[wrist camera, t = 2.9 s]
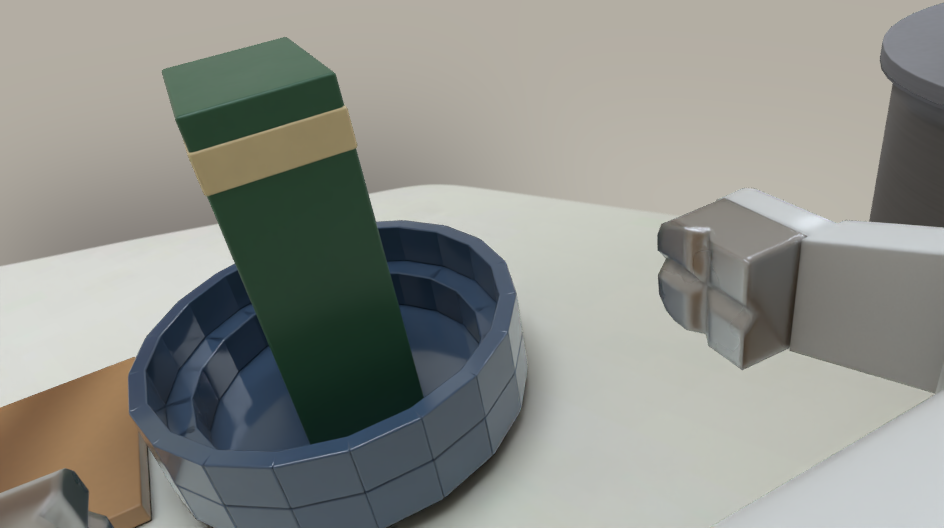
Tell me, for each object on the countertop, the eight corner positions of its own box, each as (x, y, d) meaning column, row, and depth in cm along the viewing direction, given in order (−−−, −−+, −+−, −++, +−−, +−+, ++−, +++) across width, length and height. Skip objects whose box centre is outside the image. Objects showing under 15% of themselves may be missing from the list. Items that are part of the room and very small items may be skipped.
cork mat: (142, 369, 29) (134, 355, 29) (152, 520, 22) (141, 504, 22) (-92, 460, 27) (-104, 446, 26) (-168, 663, 19) (-187, 648, 19)
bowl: (443, 264, 33) (427, 190, 30) (601, 434, 22) (592, 339, 20) (165, 373, 29) (125, 297, 27) (194, 641, 18) (131, 551, 16)
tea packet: (376, 326, 28) (288, 35, 22) (430, 414, 23) (338, 71, 17) (280, 365, 27) (158, 69, 21) (317, 465, 22) (172, 118, 16)
